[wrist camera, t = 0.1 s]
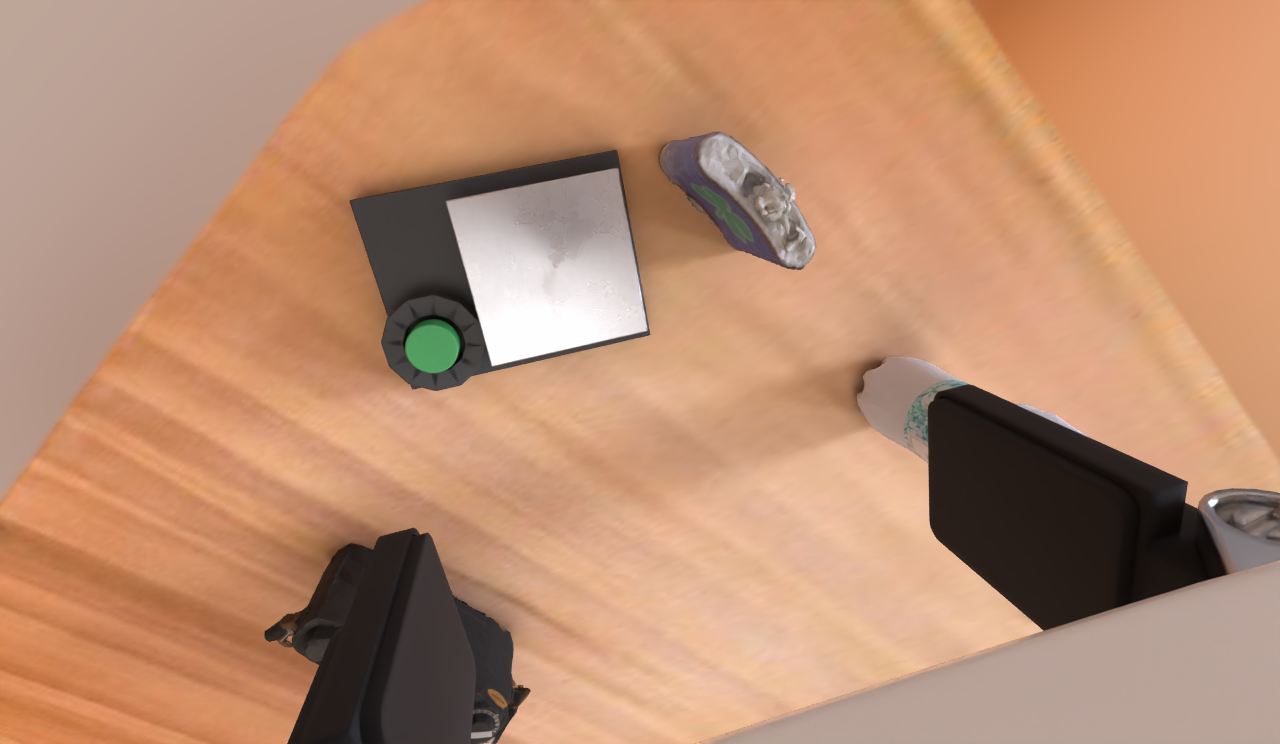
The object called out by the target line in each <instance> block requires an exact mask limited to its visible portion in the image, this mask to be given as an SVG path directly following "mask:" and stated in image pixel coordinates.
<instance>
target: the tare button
mask: <svg viewBox="0 0 1280 744" xmlns="http://www.w3.org/2000/svg"><path fill="white" fill-rule="evenodd" d="M459 350H460V338H459V335H458V333H457V332H456V330H455V329H454V328H453V327H452V326H451V325H450V324H448V323H446V322H444V321H442V320H437V319H430V320H425V321H423V322H421V323H419V324H418V325H416V326H415V327H414V329H413V330H412V331H411V333H410V334H409V336H408V338H407V340H406V343H405V352H406V356H407V358H408V360H409V361H410V363H411V364H412V365H413V366H414V367H416V368H417V369H419V370H421V371H423V372H427V373H439V372H443V371H445V370H447V369H448V368H450V367H451V366H452V365H453V364H454V362H455V361H456V359H457V356H458V353H459Z"/></svg>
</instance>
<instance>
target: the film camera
mask: <svg viewBox="0 0 1280 744" xmlns="http://www.w3.org/2000/svg"><path fill="white" fill-rule="evenodd" d="M372 552H373V550H371V549H368V548H365V547H363V546H360V545H356V544H353V543H351V544H349V545H347V546H345V547H344V548H342V549H341V550H338V552H337V553H336V555H335V556H333V558H332V560H331V562H330V564H329V565H328V567H327V568H326V570H325V571H324V573H323V575H322V578H321V580H320V582H319V584H318V586H317V588H316V590H315V592H314V594H313V596H312V598H311V600H310V603H309V604H308V606H307V607H306V608H305V609H304V610H303V611H300V612H298V613H297V612H296V613H295V614H287V615H286V616H284V617H283V618H282V619H281V620H280V621H279V622H277V623H276V624H275V625H273V626H272V627H271V628H269V629H268V630H266V631H265V639H266V640H267V641H269V642H271V641H275V640H277V642H278V643H279V644H281V645H283V646H284V647H294V649H295V650H296V651H297V652H298V653H300V654H302V655H303V656H305V657H306V658H307V659H309V660H310V661H313V662H315V663H317V664H319V665H320V663H321V660H322V658H323V655H324V653H325V650H326V648H327V645H328V643H329V641H330V639H331V637H332V635H333V634H334V632H335V631H337V630H338V629H341V628H343V627H344V624H345V622H346V619H347V617H348V614H349V611H350V609H351V606H352V604H353V601H354V599H355V596H356V593H357V591H358V588H359V586H360V583H361V581H362V578H363V575H364V573H365V570H366V568H367V565H368V563H369V560H370V558H371V555H372ZM452 596H453V595H452ZM453 598H454V596H453ZM454 601H455V604H456V607H457V610H458V613H459V615H460V618H461V621H462V624H463V627H464V630H465V632H466V635H467V638H468V641H469V644H470V647H471V649H472V652H473V656H474V660H475V667H476V683H475V695H474V707H473V719H472V731H471V743H470V744H483V743H488V744H496V743H497V742H498V740H499V738H500V737H501V735H502V733H503V731H504V730H505V728H506V726H507V725H508V723H509V721H510V720H511V719H512V717H513V716H514V715H515V713H516V712H517V709H518V706H519V705H520V704H521V703H522V702H523V701H524V700H525V698H526V697H527V696H528V695H529V693H530V691H531V690H530V689H528V688H523V685H517V684H516V683H515V682H514V681H513V679H512V674H511V668H512V659H513V641H512V638H511V635H510V633H509V632H508V631H502V630H501V628H500V627H499V625H498V624H497V623H496V622H495V621H493V619H491V618H490V617H489V618H488V617H486V616H485V614H484V613H481V612H479V611H477V610H475V609H473V608H472V607H469V606H468V605H467V604H466V603H464V602H461V601H460V600H457V598H454ZM288 636H293V637H292V643H291V642H289V641H287V640H286V639H287V638H288Z"/></svg>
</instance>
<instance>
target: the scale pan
mask: <svg viewBox="0 0 1280 744" xmlns="http://www.w3.org/2000/svg"><path fill="white" fill-rule="evenodd" d="M446 206H447V210H448V213H449V217H450V220H451V224H452V228H453V231H454V235H455V238H456V242H457V245H458V249H459V253H460V256H461V260H462V263H463V267H464V270H465V274H466V278H467V281H468V285H469V288H470V292H471V295H472V299H473V303H474V306H475V310H476V313H477V317H478V320H479V324H480V328H481V331H482V335H483V338H484V342H485V345H486V349H487V353H488V356H489V360H490V363H491V366H497V365H502V364H506V363H510V362H515V361H519V360H523V359H528V358H532V357H536V356H541V355H545V354H550V353H554V352H558V351H563V350H567V349H571V348H576V347H580V346H584V345H589V344H593V343H598V342H602V341H606V340H611V339H615V338H619V337H624V336H628V335H633V334H637V333H641V332H646V331H647V330H648V328H647V323H646V317H645V312H644V306H643V301H642V295H641V290H640V284H639V279H638V273H637V268H636V262H635V257H634V251H633V246H632V240H631V235H630V229H629V224H628V218H627V213H626V207H625V202H624V196H623V191H622V185H621V180H620V174H619V169H618V168H613V169H608V170H603V171H597V172H592V173H587V174H582V175H577V176H571V177H566V178H561V179H556V180H551V181H545V182H540V183H535V184H530V185H525V186H519V187H514V188H509V189H504V190H499V191H493V192H488V193H483V194H478V195H473V196H467V197H462V198H457V199H452V200H447V201H446Z"/></svg>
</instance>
